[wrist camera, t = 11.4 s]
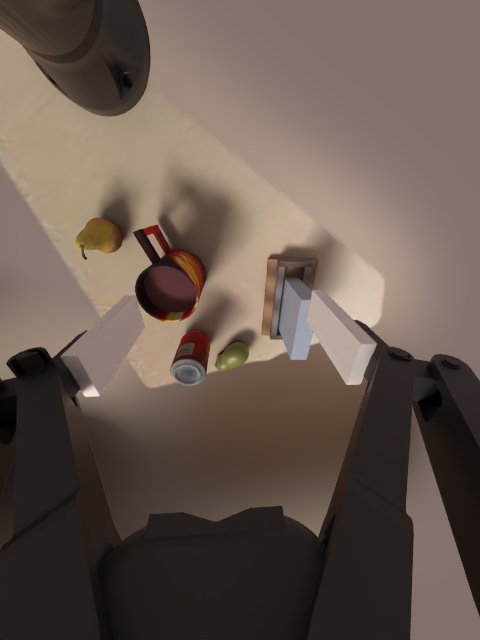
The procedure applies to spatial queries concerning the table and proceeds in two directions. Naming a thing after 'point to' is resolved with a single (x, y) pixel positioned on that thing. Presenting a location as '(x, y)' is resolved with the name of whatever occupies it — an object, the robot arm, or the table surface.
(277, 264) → the track base
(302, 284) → the door panel
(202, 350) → the soda can
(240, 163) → the table surface
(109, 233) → the fruit
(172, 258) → the mug
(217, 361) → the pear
